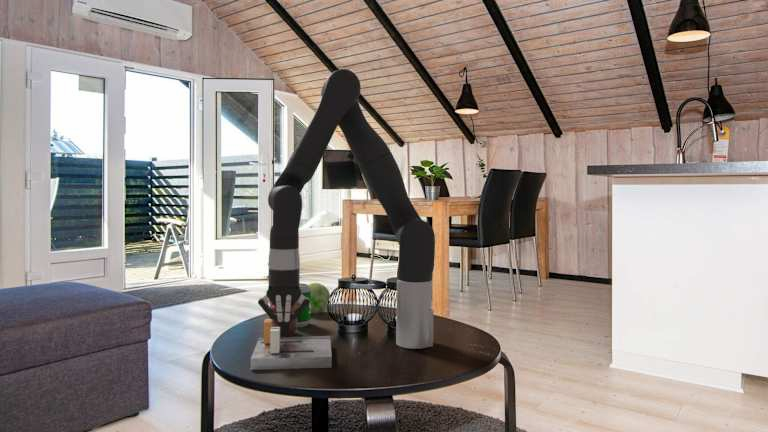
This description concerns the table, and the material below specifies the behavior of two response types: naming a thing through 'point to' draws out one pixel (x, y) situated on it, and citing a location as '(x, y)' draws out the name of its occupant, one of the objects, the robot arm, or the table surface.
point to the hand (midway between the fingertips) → (283, 335)
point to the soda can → (306, 313)
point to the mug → (292, 323)
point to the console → (293, 353)
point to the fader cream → (275, 340)
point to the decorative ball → (318, 297)
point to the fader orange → (267, 330)
